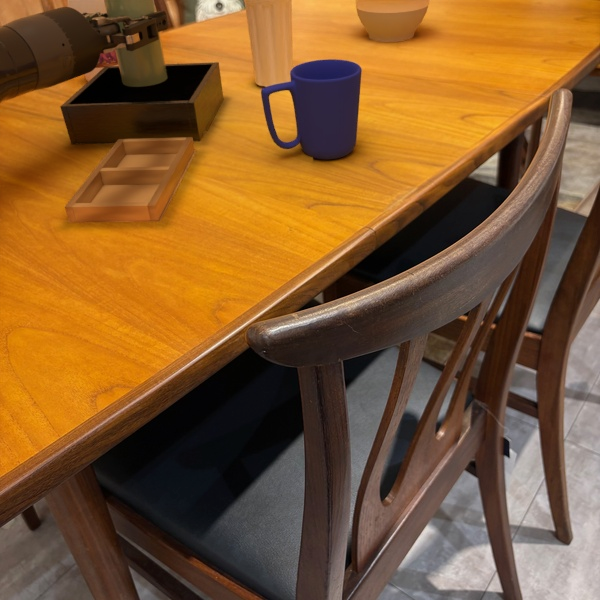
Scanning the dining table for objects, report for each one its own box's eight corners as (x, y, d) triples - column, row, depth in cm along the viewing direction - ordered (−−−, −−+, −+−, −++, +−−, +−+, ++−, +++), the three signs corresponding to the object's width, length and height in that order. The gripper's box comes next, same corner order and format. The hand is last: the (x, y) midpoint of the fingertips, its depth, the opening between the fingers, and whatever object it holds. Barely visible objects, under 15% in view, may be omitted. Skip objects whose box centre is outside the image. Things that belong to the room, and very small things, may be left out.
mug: (257, 153, 77) (248, 72, 71) (343, 134, 80) (341, 55, 75) (281, 178, 71) (274, 91, 65) (373, 156, 74) (374, 72, 68)
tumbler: (116, 87, 82) (93, -11, 75) (130, 74, 87) (109, -20, 80) (161, 86, 82) (142, -14, 75) (172, 72, 87) (155, -22, 80)
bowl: (450, 35, 117) (454, -15, 112) (386, 52, 110) (388, 0, 105) (394, 22, 128) (396, -24, 123) (333, 36, 121) (332, -11, 116)
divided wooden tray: (68, 226, 64) (62, 206, 63) (121, 156, 79) (116, 139, 77) (161, 224, 63) (156, 205, 62) (197, 154, 78) (194, 137, 76)
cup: (259, 94, 95) (249, -7, 87) (243, 80, 102) (233, -15, 93) (307, 85, 98) (302, -14, 89) (289, 72, 104) (283, -22, 95)
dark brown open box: (72, 147, 82) (59, 106, 79) (113, 103, 96) (104, 66, 93) (200, 144, 80) (193, 102, 77) (223, 99, 94) (218, 62, 91)
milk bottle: (96, 71, 111) (65, -55, 99) (137, 71, 110) (110, -57, 98) (78, 85, 105) (42, -48, 93) (121, 85, 103) (90, -50, 92)
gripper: (82, 17, 65) (182, -12, 76) (-5, 11, 71) (100, -15, 83) (100, 89, 69) (192, 51, 81) (17, 77, 76) (113, 43, 87)
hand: (145, 18), depth 82 cm, fingers closed on tumbler, 6 cm apart
